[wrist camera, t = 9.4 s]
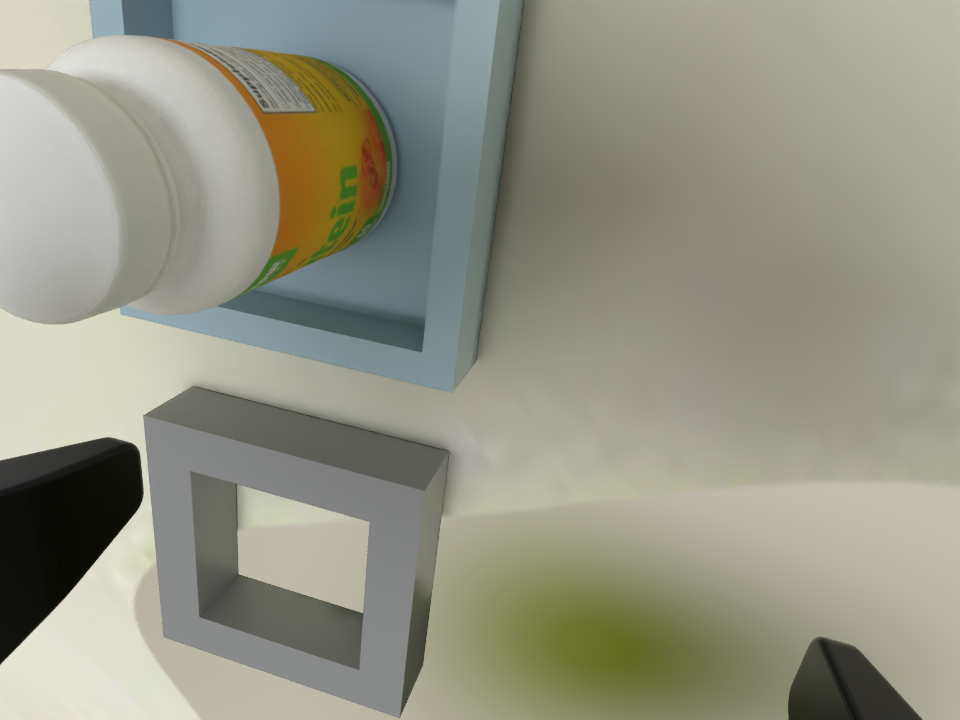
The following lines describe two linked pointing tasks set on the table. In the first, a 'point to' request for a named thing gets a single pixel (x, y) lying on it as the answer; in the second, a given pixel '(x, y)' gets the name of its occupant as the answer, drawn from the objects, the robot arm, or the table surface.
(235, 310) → the tray
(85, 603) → the table surface
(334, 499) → the holder
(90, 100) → the supplement bottle
